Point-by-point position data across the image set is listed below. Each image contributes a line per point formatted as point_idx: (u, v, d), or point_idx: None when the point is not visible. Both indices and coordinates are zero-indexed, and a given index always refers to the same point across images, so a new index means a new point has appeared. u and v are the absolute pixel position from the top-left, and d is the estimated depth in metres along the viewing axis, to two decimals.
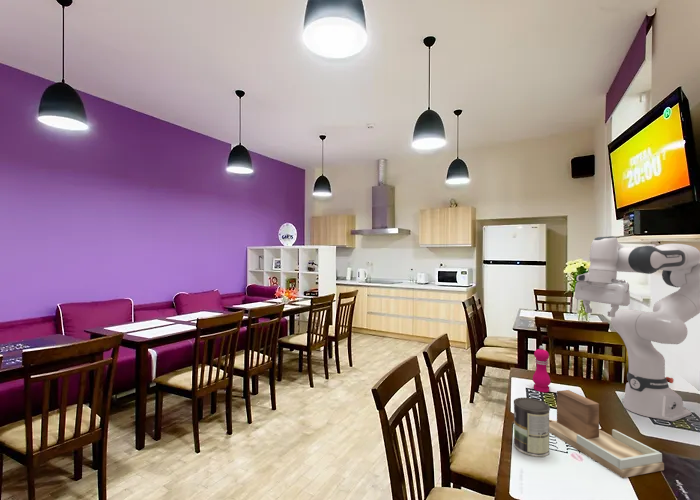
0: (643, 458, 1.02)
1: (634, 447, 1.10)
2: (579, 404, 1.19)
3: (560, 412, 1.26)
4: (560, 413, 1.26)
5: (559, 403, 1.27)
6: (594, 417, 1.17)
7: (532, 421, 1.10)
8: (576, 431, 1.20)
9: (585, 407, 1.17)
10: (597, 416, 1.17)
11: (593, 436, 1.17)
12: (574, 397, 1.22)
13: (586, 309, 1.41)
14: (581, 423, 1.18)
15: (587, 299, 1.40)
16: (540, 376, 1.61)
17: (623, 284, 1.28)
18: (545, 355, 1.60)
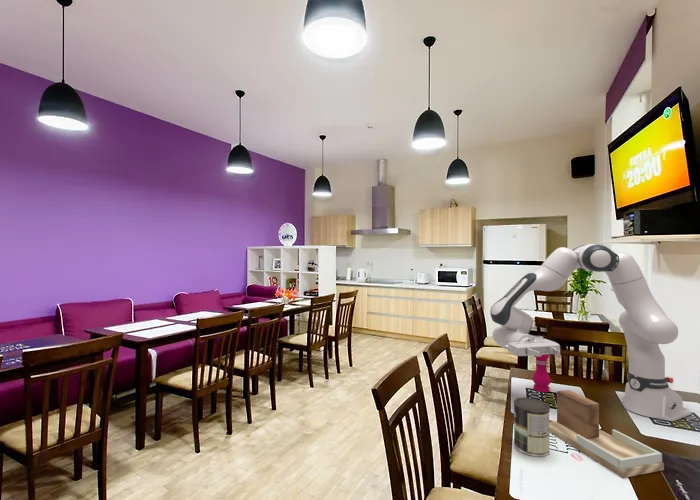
0: (643, 458, 1.02)
1: (634, 447, 1.10)
2: (579, 404, 1.19)
3: (560, 412, 1.26)
4: (560, 413, 1.26)
5: (559, 403, 1.27)
6: (594, 417, 1.17)
7: (532, 421, 1.10)
8: (576, 431, 1.20)
9: (585, 407, 1.17)
10: (597, 416, 1.17)
11: (593, 436, 1.17)
12: (574, 397, 1.22)
13: None
14: (581, 423, 1.18)
15: None
16: (540, 376, 1.61)
17: None
18: (545, 355, 1.60)
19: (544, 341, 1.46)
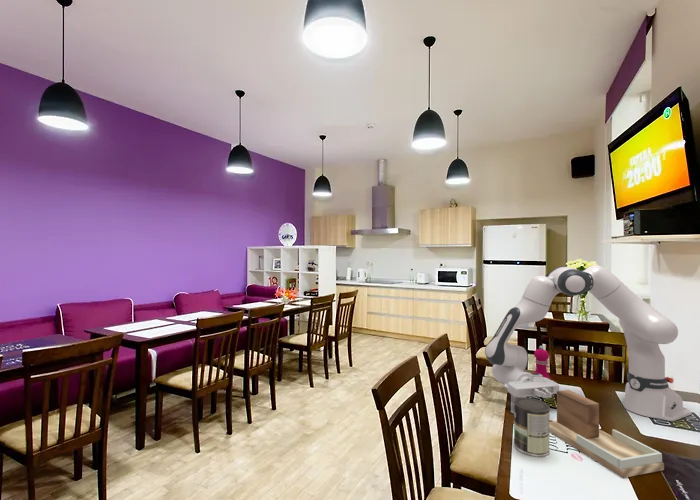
0: (643, 458, 1.02)
1: (634, 447, 1.10)
2: (579, 404, 1.19)
3: (560, 412, 1.26)
4: (560, 413, 1.26)
5: (559, 403, 1.27)
6: (594, 417, 1.17)
7: (532, 421, 1.10)
8: (576, 431, 1.20)
9: (585, 407, 1.17)
10: (597, 416, 1.17)
11: (593, 436, 1.17)
12: (574, 397, 1.22)
13: None
14: (581, 423, 1.18)
15: None
16: None
17: None
18: (545, 355, 1.60)
19: (543, 380, 1.46)
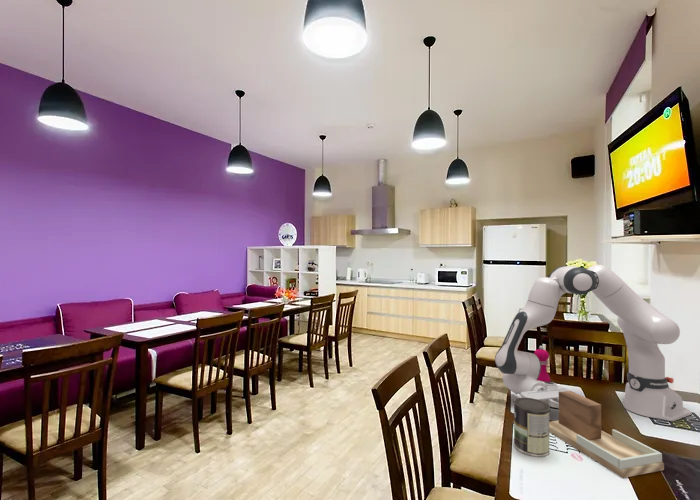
0: (643, 458, 1.02)
1: (634, 447, 1.10)
2: (581, 405, 1.18)
3: (562, 413, 1.25)
4: (562, 414, 1.25)
5: (561, 404, 1.26)
6: (596, 418, 1.16)
7: (532, 421, 1.10)
8: (578, 432, 1.19)
9: (587, 408, 1.16)
10: (599, 417, 1.16)
11: (595, 437, 1.16)
12: (576, 398, 1.22)
13: None
14: (583, 424, 1.17)
15: None
16: (540, 376, 1.61)
17: None
18: (545, 355, 1.60)
19: (558, 389, 1.39)
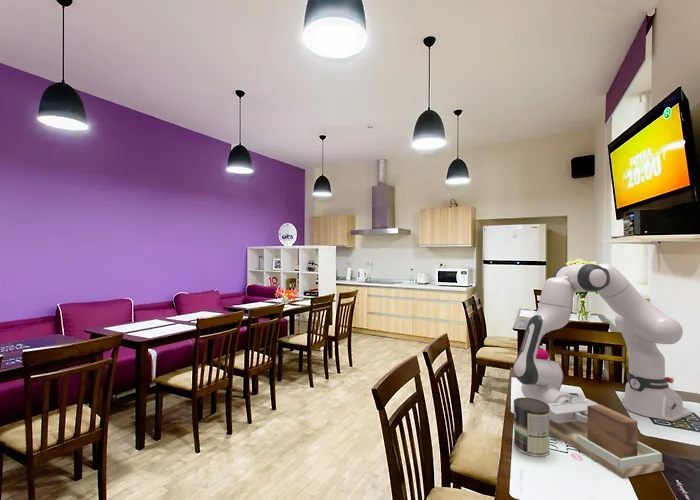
0: (643, 458, 1.02)
1: None
2: (615, 421, 1.07)
3: (591, 429, 1.14)
4: (591, 430, 1.14)
5: (590, 420, 1.15)
6: (632, 436, 1.05)
7: (532, 421, 1.10)
8: (611, 451, 1.08)
9: (622, 425, 1.04)
10: (635, 435, 1.05)
11: None
12: (608, 413, 1.10)
13: None
14: (618, 442, 1.06)
15: None
16: None
17: None
18: (545, 355, 1.60)
19: (584, 401, 1.28)
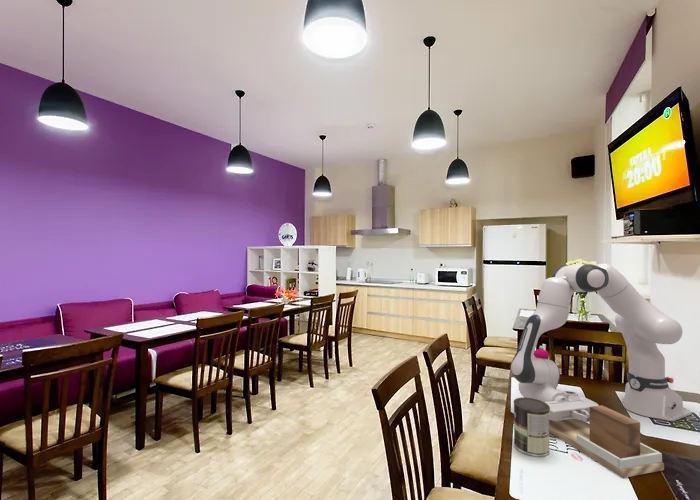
0: (643, 458, 1.02)
1: None
2: (617, 423, 1.06)
3: (594, 430, 1.13)
4: (594, 431, 1.13)
5: (592, 421, 1.14)
6: (635, 438, 1.04)
7: (532, 421, 1.10)
8: (613, 453, 1.07)
9: (625, 426, 1.04)
10: (638, 436, 1.04)
11: None
12: (610, 414, 1.09)
13: None
14: (620, 444, 1.05)
15: None
16: None
17: None
18: (545, 355, 1.60)
19: (580, 399, 1.29)
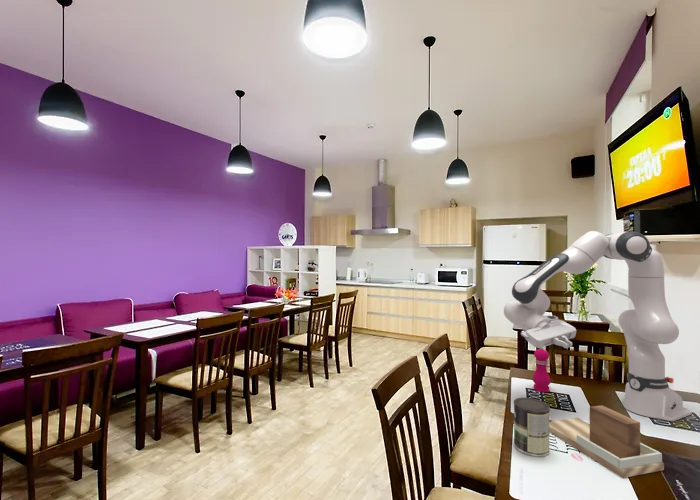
0: (643, 458, 1.02)
1: None
2: (617, 423, 1.06)
3: (594, 430, 1.13)
4: (594, 431, 1.13)
5: (592, 421, 1.14)
6: (635, 438, 1.04)
7: (532, 421, 1.10)
8: (613, 453, 1.07)
9: (625, 426, 1.04)
10: (638, 436, 1.04)
11: None
12: (610, 414, 1.09)
13: None
14: (620, 444, 1.05)
15: None
16: (540, 376, 1.61)
17: None
18: (545, 355, 1.60)
19: (560, 324, 1.42)
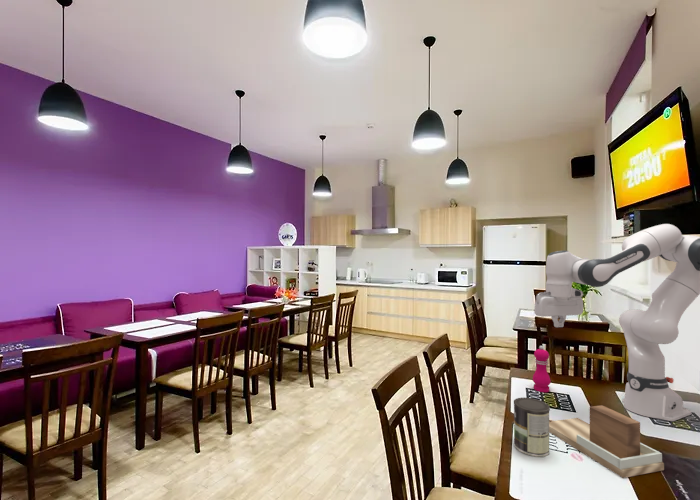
0: (643, 458, 1.02)
1: None
2: (617, 423, 1.06)
3: (594, 430, 1.13)
4: (594, 431, 1.13)
5: (592, 421, 1.14)
6: (635, 438, 1.04)
7: (532, 421, 1.10)
8: (613, 453, 1.07)
9: (625, 426, 1.04)
10: (638, 436, 1.04)
11: None
12: (610, 414, 1.09)
13: None
14: (620, 444, 1.05)
15: None
16: (540, 376, 1.61)
17: None
18: (545, 355, 1.60)
19: (577, 301, 1.41)
